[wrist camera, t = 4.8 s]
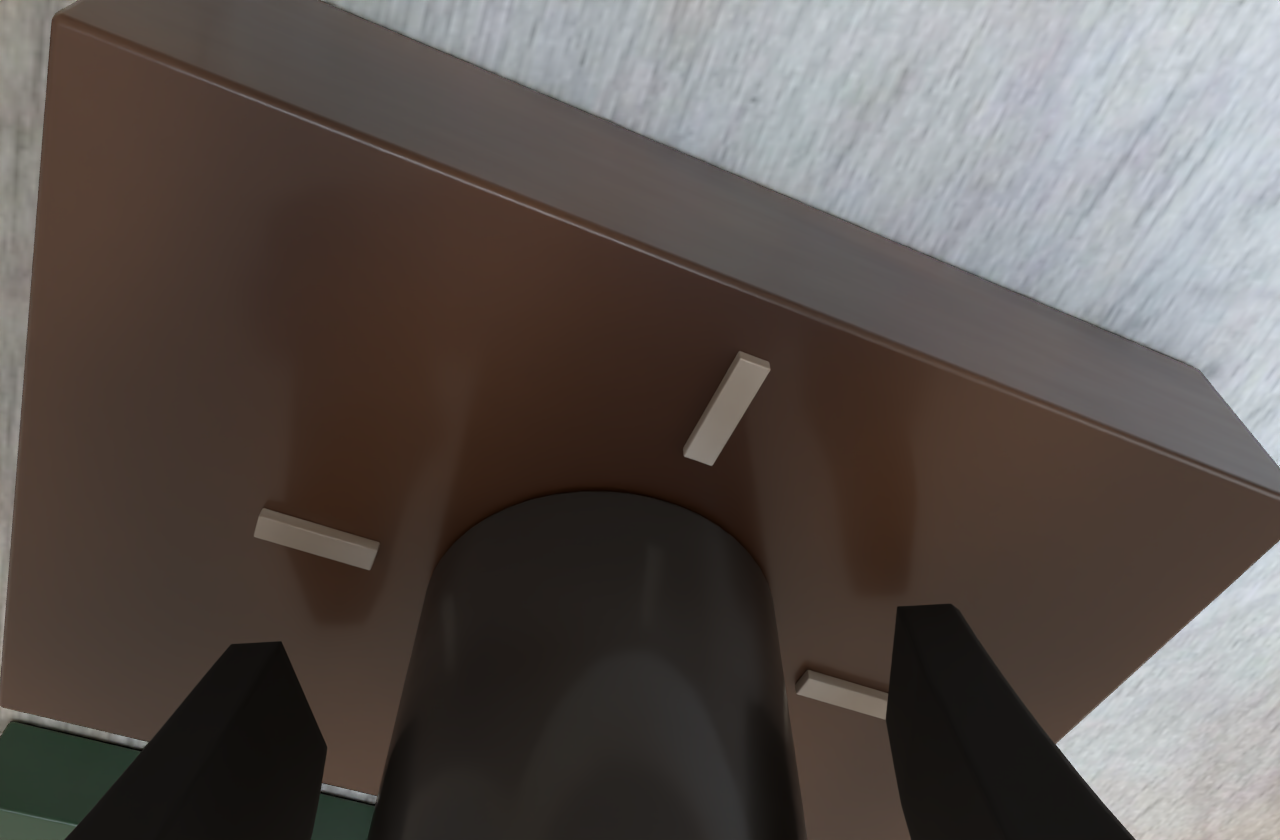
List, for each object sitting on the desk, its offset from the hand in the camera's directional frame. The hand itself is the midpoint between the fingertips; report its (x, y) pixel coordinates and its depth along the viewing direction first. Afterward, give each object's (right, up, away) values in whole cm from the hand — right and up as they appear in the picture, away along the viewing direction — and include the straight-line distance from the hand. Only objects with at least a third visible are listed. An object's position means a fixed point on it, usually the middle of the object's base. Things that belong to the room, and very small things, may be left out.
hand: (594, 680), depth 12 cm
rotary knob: (0, +1, +1) cm, 1 cm away
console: (0, +2, +3) cm, 4 cm away
